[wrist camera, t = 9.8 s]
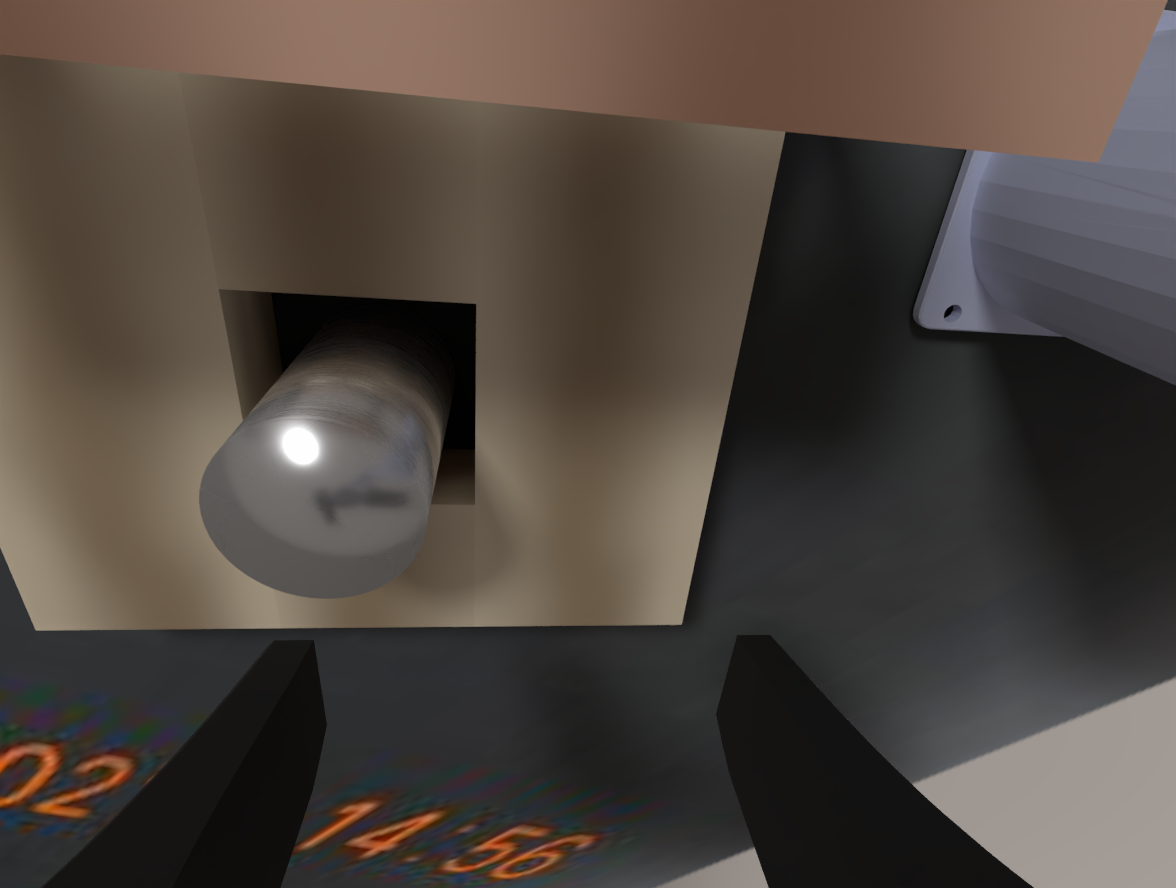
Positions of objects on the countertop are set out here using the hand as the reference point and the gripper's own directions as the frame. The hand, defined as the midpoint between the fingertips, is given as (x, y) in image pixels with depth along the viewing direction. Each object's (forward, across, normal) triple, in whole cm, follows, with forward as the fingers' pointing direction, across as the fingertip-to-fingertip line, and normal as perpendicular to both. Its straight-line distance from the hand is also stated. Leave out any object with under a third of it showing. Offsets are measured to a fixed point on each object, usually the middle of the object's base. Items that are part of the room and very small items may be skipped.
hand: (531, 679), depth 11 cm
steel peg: (+9, +4, -2) cm, 10 cm away
